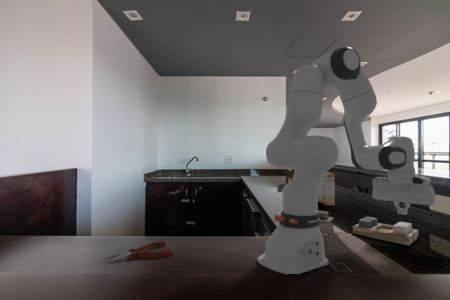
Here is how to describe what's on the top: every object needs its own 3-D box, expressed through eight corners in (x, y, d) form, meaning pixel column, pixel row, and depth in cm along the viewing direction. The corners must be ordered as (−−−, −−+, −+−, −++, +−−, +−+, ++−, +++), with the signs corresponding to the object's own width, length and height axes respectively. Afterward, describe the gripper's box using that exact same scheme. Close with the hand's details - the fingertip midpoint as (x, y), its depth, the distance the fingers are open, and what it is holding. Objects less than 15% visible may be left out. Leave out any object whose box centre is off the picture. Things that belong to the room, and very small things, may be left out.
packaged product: (292, 209, 134) (298, 206, 142) (292, 219, 134) (299, 215, 142) (328, 214, 123) (333, 210, 132) (329, 224, 123) (333, 219, 131)
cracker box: (335, 205, 165) (335, 173, 166) (326, 205, 165) (325, 173, 166) (326, 201, 179) (326, 171, 180) (318, 201, 179) (317, 172, 180)
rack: (409, 245, 92) (408, 230, 92) (352, 233, 107) (352, 220, 107) (418, 237, 101) (418, 223, 101) (365, 227, 116) (365, 215, 116)
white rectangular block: (405, 238, 95) (405, 227, 95) (393, 236, 98) (392, 225, 98) (411, 233, 101) (411, 223, 101) (399, 231, 104) (399, 221, 104)
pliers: (104, 257, 85) (104, 249, 85) (164, 246, 95) (164, 239, 95) (107, 271, 75) (107, 262, 75) (174, 257, 85) (174, 249, 85)
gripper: (369, 177, 106) (370, 210, 105) (432, 180, 90) (433, 219, 90) (375, 176, 110) (375, 208, 110) (436, 179, 94) (437, 216, 94)
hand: (402, 213), depth 100 cm, fingers closed
